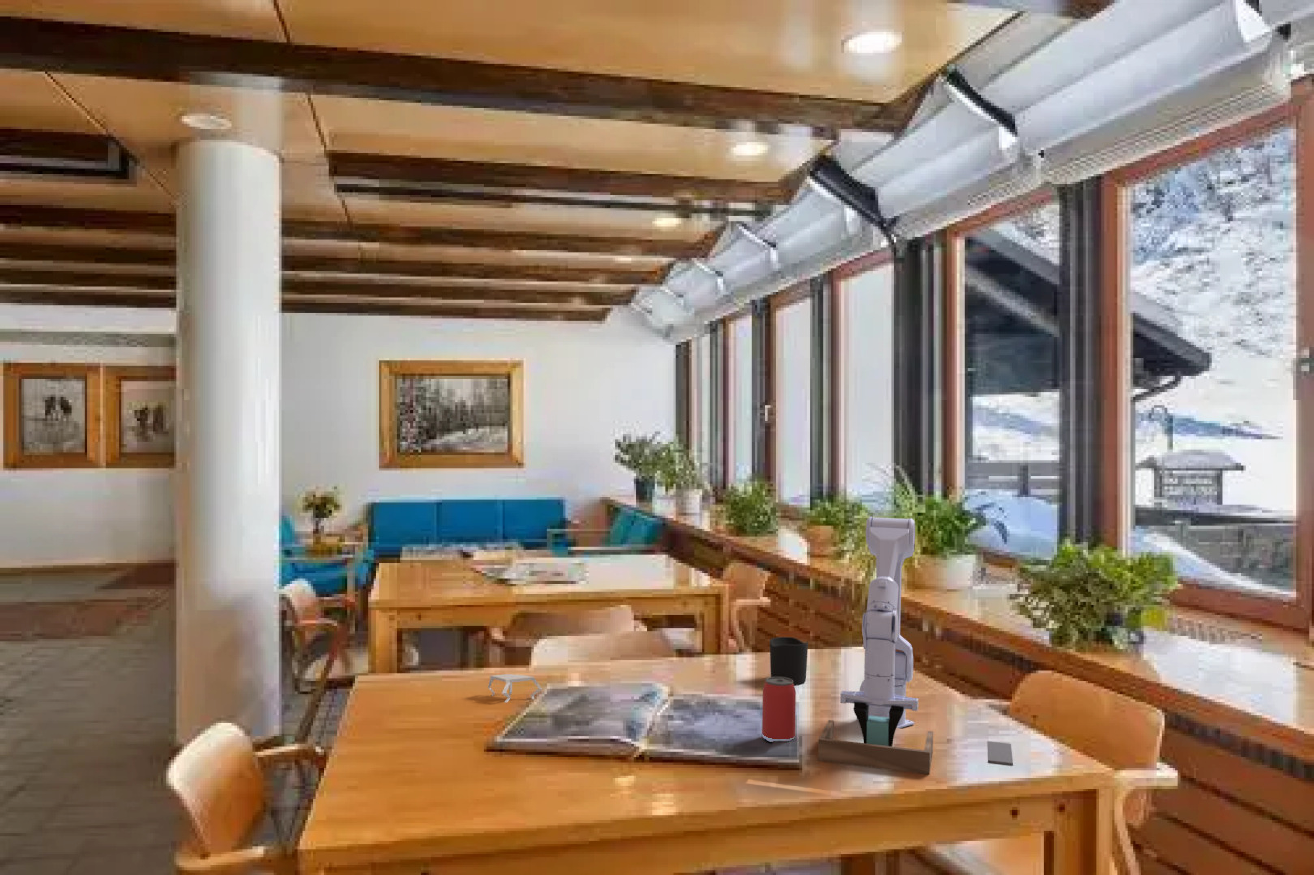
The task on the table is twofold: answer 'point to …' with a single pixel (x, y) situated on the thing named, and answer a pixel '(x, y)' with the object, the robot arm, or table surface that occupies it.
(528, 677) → the grey legged piece
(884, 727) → the teal block
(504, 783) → the table surface
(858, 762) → the walnut box
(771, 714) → the beer can
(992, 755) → the charcoal mat
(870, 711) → the robot arm
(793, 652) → the pen holder
